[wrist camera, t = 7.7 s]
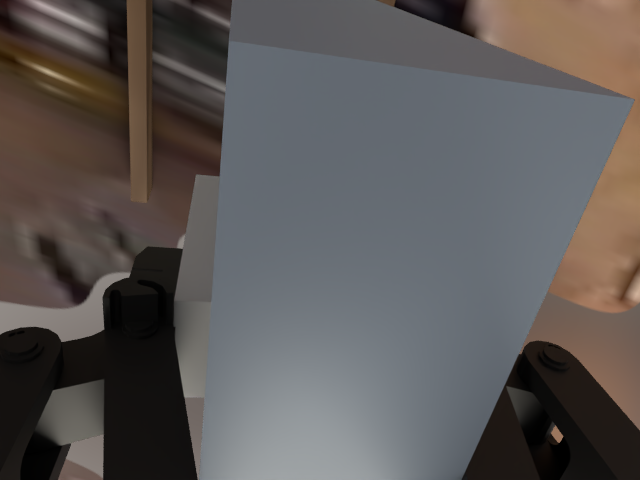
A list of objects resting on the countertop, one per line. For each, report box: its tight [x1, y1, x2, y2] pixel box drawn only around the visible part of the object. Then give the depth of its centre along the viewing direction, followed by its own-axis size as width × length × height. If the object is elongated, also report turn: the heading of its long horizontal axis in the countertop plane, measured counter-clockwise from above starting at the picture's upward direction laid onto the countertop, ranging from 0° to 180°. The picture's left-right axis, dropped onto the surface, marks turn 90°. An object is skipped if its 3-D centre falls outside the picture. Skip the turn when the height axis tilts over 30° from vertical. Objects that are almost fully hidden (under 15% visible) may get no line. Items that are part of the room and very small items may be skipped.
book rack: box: [127, 0, 395, 203], centre depth 26 cm, size 15×19×15 cm
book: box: [199, 0, 635, 480], centre depth 13 cm, size 4×14×12 cm, turn 171°
